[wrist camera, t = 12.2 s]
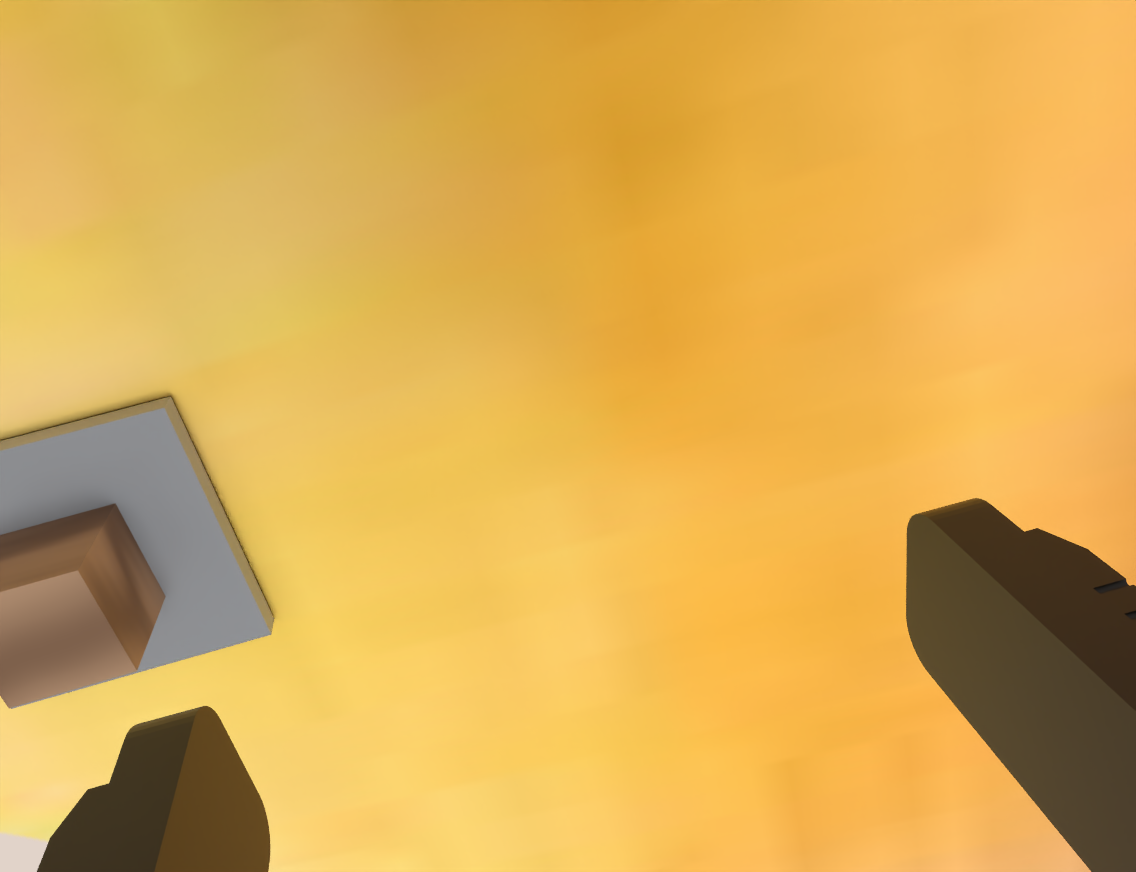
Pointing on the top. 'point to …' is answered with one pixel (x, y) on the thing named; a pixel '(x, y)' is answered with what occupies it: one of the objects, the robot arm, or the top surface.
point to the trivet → (144, 519)
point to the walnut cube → (73, 605)
